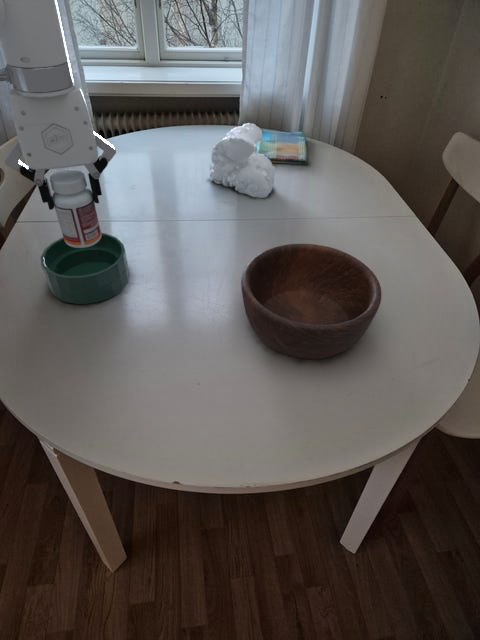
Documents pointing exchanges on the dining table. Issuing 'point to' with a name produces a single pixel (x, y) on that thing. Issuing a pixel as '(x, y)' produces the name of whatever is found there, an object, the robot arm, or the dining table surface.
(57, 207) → the pill bottle
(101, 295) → the green faceted bowl
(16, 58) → the robot arm
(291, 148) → the colourful book
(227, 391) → the dining table surface
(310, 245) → the wooden bowl
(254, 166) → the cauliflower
